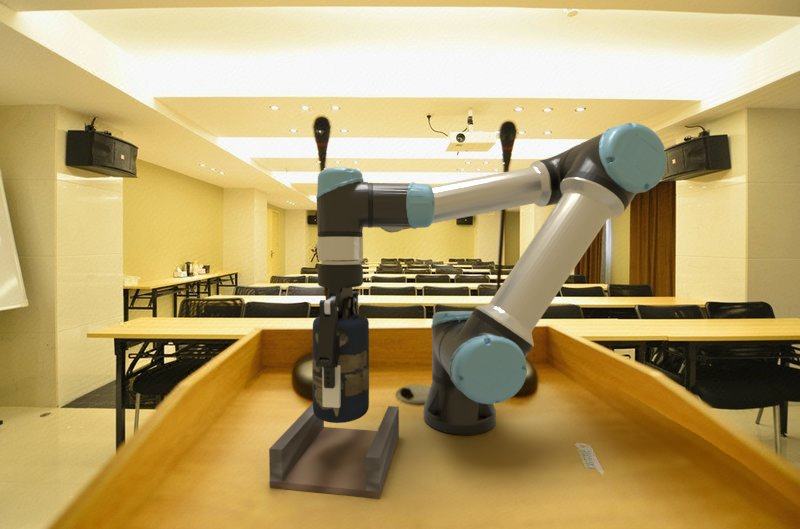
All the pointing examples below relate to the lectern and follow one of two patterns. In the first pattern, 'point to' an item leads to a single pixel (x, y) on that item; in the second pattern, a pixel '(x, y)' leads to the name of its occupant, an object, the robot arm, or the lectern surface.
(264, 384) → the lectern surface
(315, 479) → the holder
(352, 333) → the canister
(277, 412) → the lectern surface
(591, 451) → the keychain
